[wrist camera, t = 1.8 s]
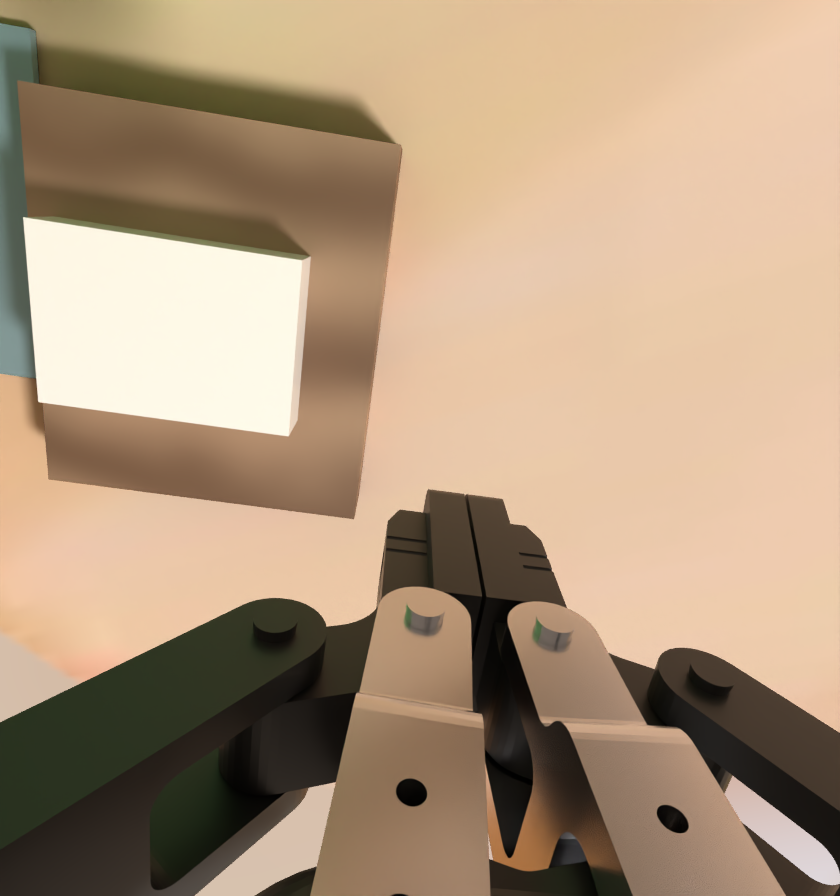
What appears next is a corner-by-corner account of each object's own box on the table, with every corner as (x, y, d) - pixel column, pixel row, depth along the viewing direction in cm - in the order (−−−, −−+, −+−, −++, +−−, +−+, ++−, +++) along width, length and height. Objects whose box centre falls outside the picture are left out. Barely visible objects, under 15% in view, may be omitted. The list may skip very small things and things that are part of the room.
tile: (53, 216, 24) (23, 217, 22) (310, 256, 24) (302, 260, 23) (64, 388, 26) (38, 402, 24) (297, 420, 27) (288, 436, 25)
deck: (54, 92, 24) (17, 80, 22) (402, 150, 25) (400, 144, 23) (76, 458, 30) (48, 479, 28) (358, 495, 31) (354, 519, 29)
